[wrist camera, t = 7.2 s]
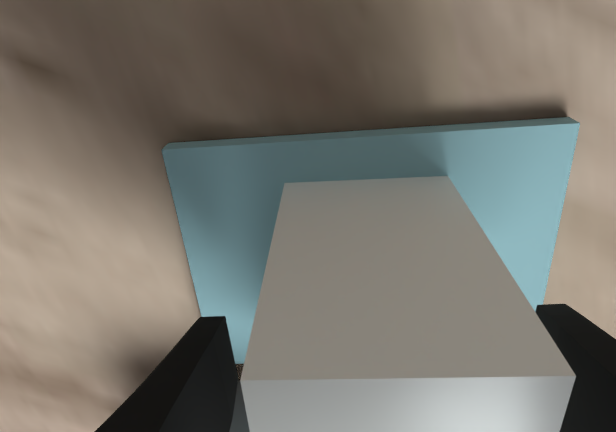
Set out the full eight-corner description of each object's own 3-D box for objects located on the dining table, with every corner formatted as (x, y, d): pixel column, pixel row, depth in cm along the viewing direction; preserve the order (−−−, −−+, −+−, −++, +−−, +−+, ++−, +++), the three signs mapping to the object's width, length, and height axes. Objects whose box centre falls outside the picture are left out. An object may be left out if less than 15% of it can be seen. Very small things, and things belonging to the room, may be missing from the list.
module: (300, 344, 15) (280, 594, 9) (284, 182, 12) (240, 380, 6) (433, 341, 15) (509, 598, 9) (448, 175, 12) (576, 376, 6)
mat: (216, 351, 16) (213, 364, 16) (168, 143, 13) (161, 149, 12) (524, 342, 15) (532, 355, 15) (568, 116, 12) (580, 122, 11)
